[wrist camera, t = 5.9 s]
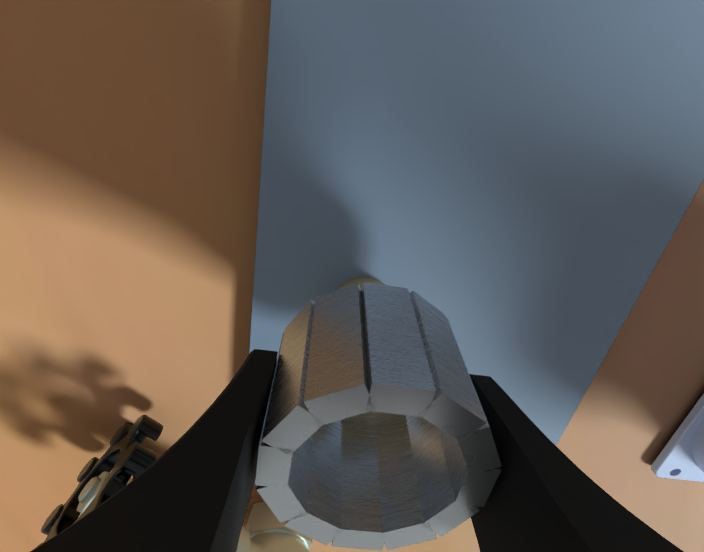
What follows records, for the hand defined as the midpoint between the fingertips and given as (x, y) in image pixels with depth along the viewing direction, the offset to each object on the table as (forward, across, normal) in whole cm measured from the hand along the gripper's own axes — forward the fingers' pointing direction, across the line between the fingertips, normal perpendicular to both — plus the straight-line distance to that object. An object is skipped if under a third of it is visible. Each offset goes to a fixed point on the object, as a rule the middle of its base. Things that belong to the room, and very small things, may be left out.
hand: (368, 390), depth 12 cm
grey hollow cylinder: (+1, 0, 0) cm, 1 cm away
